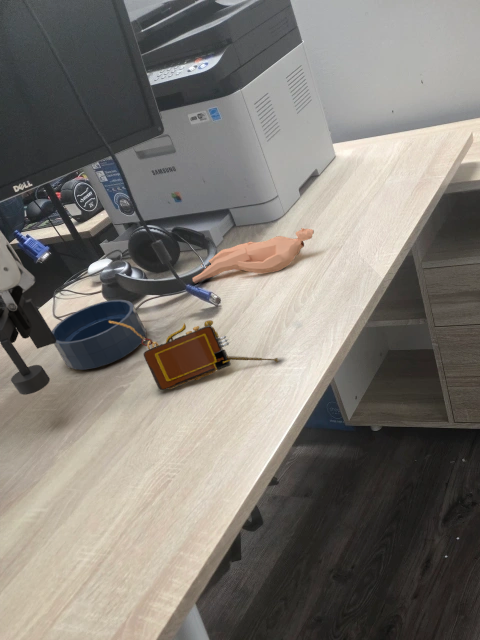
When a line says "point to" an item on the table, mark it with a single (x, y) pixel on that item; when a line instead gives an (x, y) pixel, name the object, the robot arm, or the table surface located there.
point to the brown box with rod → (187, 356)
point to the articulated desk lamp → (41, 336)
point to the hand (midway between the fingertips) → (21, 335)
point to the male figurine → (257, 256)
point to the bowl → (98, 334)
